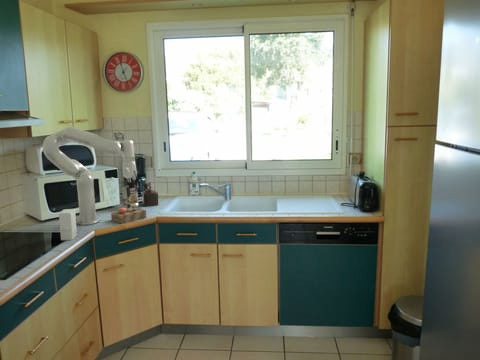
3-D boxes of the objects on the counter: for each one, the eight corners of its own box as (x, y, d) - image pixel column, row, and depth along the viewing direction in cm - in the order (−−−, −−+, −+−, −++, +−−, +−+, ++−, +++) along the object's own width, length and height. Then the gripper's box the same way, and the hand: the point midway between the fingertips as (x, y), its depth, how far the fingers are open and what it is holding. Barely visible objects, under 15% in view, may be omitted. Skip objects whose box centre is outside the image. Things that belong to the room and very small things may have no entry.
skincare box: (66, 235, 225) (63, 208, 223) (78, 235, 226) (75, 208, 223) (60, 240, 217) (57, 212, 214) (73, 240, 218) (70, 212, 215)
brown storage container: (141, 203, 300) (140, 180, 296) (156, 202, 304) (155, 179, 301) (144, 208, 285) (143, 183, 282) (160, 206, 290) (158, 182, 286)
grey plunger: (133, 212, 257) (133, 204, 256) (129, 211, 260) (129, 203, 260) (140, 210, 261) (139, 203, 260) (135, 209, 264) (135, 202, 263)
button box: (121, 223, 248) (121, 216, 247) (111, 220, 256) (111, 212, 255) (146, 217, 261) (146, 210, 260) (136, 214, 269) (135, 207, 268)
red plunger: (121, 217, 251) (120, 209, 250) (117, 216, 254) (116, 208, 253) (128, 216, 255) (127, 208, 254) (124, 214, 258) (123, 207, 257)
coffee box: (128, 209, 282) (127, 187, 279) (122, 208, 286) (121, 186, 283) (138, 207, 289) (137, 185, 286) (133, 206, 293) (131, 184, 290)
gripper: (117, 159, 255) (120, 187, 259) (129, 161, 245) (132, 190, 249) (127, 158, 261) (130, 185, 264) (140, 159, 250) (143, 188, 254)
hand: (131, 188), depth 256 cm, fingers closed
